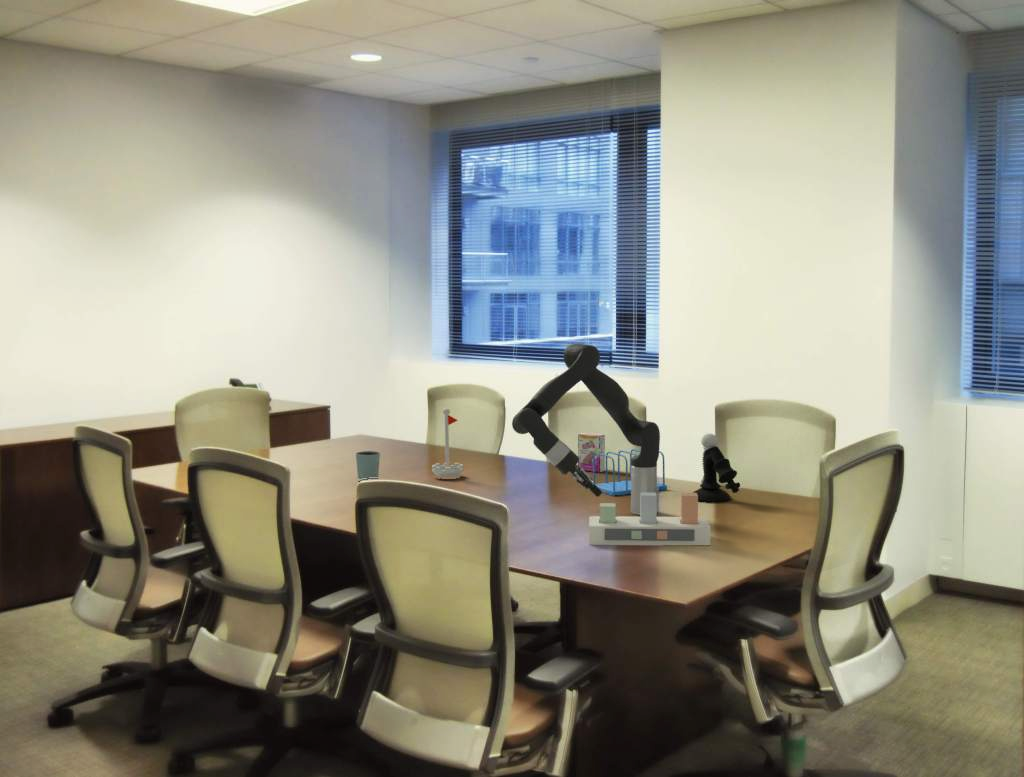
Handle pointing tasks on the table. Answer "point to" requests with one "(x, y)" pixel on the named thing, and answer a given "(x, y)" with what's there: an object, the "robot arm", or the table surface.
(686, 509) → the key terracotta
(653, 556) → the table surface
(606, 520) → the key sage
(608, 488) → the file sorter
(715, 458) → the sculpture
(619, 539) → the white flat bar
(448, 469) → the flag stand
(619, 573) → the table surface
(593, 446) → the candy bar box
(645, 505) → the key grey
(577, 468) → the robot arm
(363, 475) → the teal tapered cup
